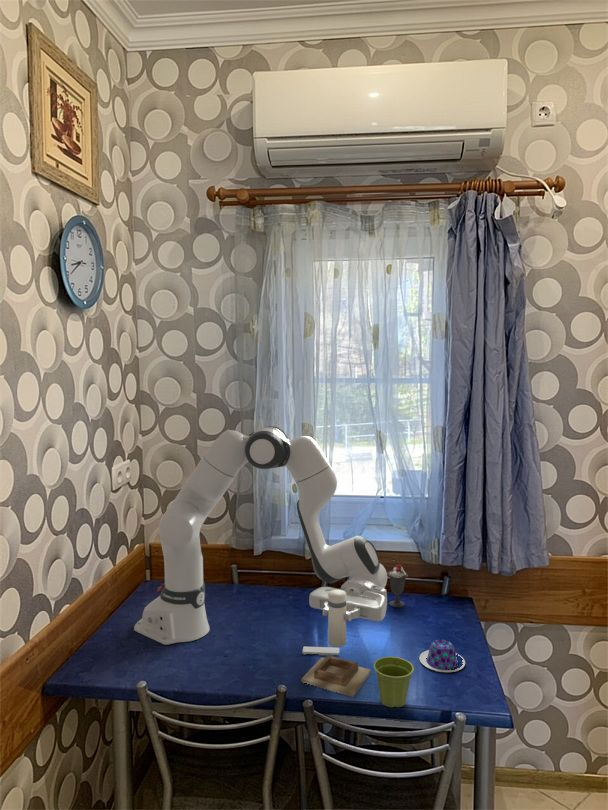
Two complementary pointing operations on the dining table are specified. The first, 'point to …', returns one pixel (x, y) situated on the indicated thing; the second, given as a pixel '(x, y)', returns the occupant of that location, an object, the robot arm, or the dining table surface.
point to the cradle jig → (337, 675)
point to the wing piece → (321, 650)
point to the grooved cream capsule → (336, 618)
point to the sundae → (397, 584)
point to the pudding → (441, 656)
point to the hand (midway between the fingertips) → (335, 615)
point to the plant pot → (393, 680)
